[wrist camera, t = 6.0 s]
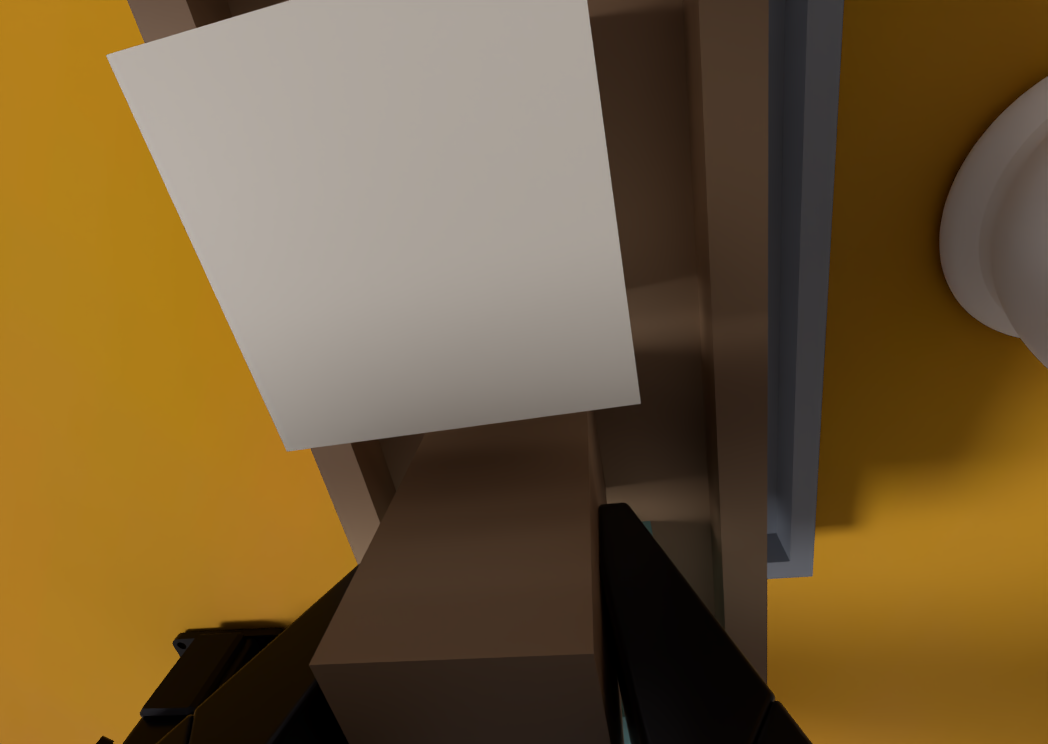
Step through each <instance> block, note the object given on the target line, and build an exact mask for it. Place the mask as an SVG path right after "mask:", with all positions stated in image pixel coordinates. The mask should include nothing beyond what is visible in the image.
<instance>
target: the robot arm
mask: <svg viewBox="0 0 1048 744" xmlns="http://www.w3.org/2000/svg"><path fill="white" fill-rule="evenodd" d="M598 518H599V568H600V576H601V582H602V588H603V594H604V600H605V606H606V612H607V618H608V624H609V630H610V636H611V642H612V648H613V654H614V660H615V666H616V672H617V678H618V683H619V689H620V694H621V699H622V704H623V709H624V714H625V718H626V723H627V728H628V733H629V738H630V743H631V744H812V742H811V741H810V740H809V739H808V737H807V736H806V735H805V734H804V732H803V731H802V730H801V728H800V727H799V726H798V724H797V723H796V722H795V721H794V719H793V718H792V717H791V715H790V714H789V713H788V711H787V710H786V709H785V707H784V706H783V705H782V704H781V703H780V702H779V701H775V696H774V694H773V692H772V691H771V690H770V689H769V687H768V686H767V685H766V683H765V682H764V681H763V679H762V678H761V677H760V675H759V674H758V673H757V672H756V670H755V669H754V668H753V666H752V665H751V664H750V662H749V661H748V660H747V659H746V657H745V656H744V655H743V653H742V652H741V651H740V649H739V648H738V647H737V645H736V644H735V643H734V642H733V640H732V639H731V638H730V636H729V635H728V634H727V632H726V631H725V630H724V629H723V627H722V626H721V625H720V623H719V622H718V621H717V619H716V618H715V617H714V615H713V614H712V613H711V612H710V610H709V609H708V608H707V606H706V605H705V604H704V602H703V601H702V600H701V599H700V597H699V596H698V595H697V593H696V592H695V591H694V589H693V588H692V587H691V585H690V584H689V583H688V582H687V580H686V579H685V578H684V576H683V575H682V574H681V572H680V571H679V570H678V569H677V567H676V566H675V565H674V563H673V562H672V561H671V559H670V558H669V557H668V555H667V554H666V553H665V552H664V550H663V549H662V548H661V546H660V545H659V544H658V542H657V541H656V540H655V539H654V537H653V536H652V535H651V533H650V532H649V531H648V529H647V528H646V527H645V525H644V524H643V523H642V522H641V520H640V519H639V518H638V516H637V515H636V514H635V512H634V511H633V510H632V509H631V507H630V506H629V505H628V504H627V503H623V502H621V503H610V504H601V505H600V506H599V508H598ZM358 566H359V564H358V565H357V566H356V567H355V568H354V569H353V570H352V571H351V572H349V573H348V574H347V575H346V576H345V577H344V578H343V579H342V580H340V581H339V582H338V583H337V584H336V585H335V586H334V587H333V588H331V589H330V590H329V591H328V592H327V593H326V594H325V595H324V596H322V597H321V598H320V599H319V600H318V601H317V602H316V603H314V604H313V605H312V606H311V607H310V608H309V609H308V610H307V611H305V612H304V613H303V614H302V615H301V616H300V617H299V618H298V619H296V620H295V621H294V622H293V623H292V624H291V625H290V626H289V627H287V628H286V629H285V630H282V629H280V628H266V629H246V630H226V631H206V632H186V633H180V634H179V635H178V636H177V637H176V638H175V640H174V641H173V646H174V647H175V649H176V651H177V652H178V654H179V655H180V659H179V660H178V661H177V663H176V664H175V665H174V666H173V668H172V669H171V670H170V672H169V673H168V674H167V676H166V677H165V678H164V680H163V681H162V682H161V684H160V685H159V686H158V688H157V689H156V690H155V692H154V693H153V694H152V696H151V697H150V698H149V700H148V701H147V702H146V704H145V705H144V706H143V708H142V710H141V712H140V715H141V717H142V718H141V719H140V721H139V722H138V724H137V725H136V726H135V728H134V729H133V730H132V732H131V733H130V734H129V736H128V737H127V738H126V740H125V741H124V742H123V744H349V743H348V741H347V739H346V737H345V735H344V733H343V731H342V729H341V727H340V725H339V723H338V721H337V719H336V717H335V715H334V713H333V711H332V710H331V708H330V706H329V704H328V702H327V700H326V698H325V696H324V694H323V692H322V690H321V688H320V686H319V684H318V682H317V680H316V678H315V676H314V674H313V672H312V670H311V668H310V666H309V664H310V662H311V660H312V658H313V656H314V654H315V652H316V650H317V648H318V646H319V644H320V642H321V640H322V638H323V636H324V634H325V632H326V630H327V628H328V626H329V624H330V622H331V620H332V618H333V616H334V614H335V612H336V610H337V608H338V606H339V604H340V602H341V600H342V598H343V596H344V594H345V592H346V590H347V588H348V586H349V584H350V582H351V580H352V578H353V576H354V574H355V572H356V570H357V568H358ZM113 742H114V741H113V740H111V739H109V738H107V737H105V736H102V737H101V738H100V740H99V741H98V742H97V743H96V744H113Z"/></svg>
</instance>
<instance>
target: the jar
mask: <svg viewBox="0 0 1048 744" xmlns="http://www.w3.org/2000/svg"><path fill="white" fill-rule="evenodd" d="M939 251H940V260H941V265H942V269H943V273H944V276H945V279H946V282H947V284H948V286H949V288H950V290H951V292H952V293H953V295H954V297H955V298H956V300H957V301H958V302H959V303H960V305H961V306H962V307H963V308H964V309H965V310H966V311H967V312H968V313H969V314H970V315H971V316H973V317H974V318H975V319H977V320H978V321H980V322H981V323H983V324H984V325H986V326H988V327H990V328H992V329H994V330H996V331H999V332H1001V333H1004V334H1007V335H1010V336H1014V337H1018V338H1021V340H1022V341H1023V342H1024V344H1025V345H1026V346H1027V347H1028V349H1029V350H1030V351H1031V352H1032V353H1033V354H1034V355H1035V357H1036V358H1037V359H1038V360H1039V361H1040V362H1041V363H1042V364H1043V365H1044V366H1045V367H1046V368H1047V369H1048V76H1047V77H1046V78H1044V79H1043V80H1041V81H1040V82H1038V83H1037V84H1035V85H1034V86H1033V87H1031V88H1030V89H1029V90H1027V91H1026V92H1025V93H1024V94H1022V95H1021V96H1020V97H1019V98H1018V99H1016V100H1015V101H1014V102H1013V103H1012V104H1011V105H1010V106H1009V107H1008V108H1007V109H1006V110H1004V111H1003V112H1002V113H1001V114H1000V115H999V116H998V117H997V118H996V120H995V121H994V122H993V123H992V124H991V125H990V126H989V127H988V129H987V130H986V131H985V132H984V134H983V135H982V136H981V137H980V139H979V140H978V141H977V142H976V144H975V145H974V147H973V148H972V149H971V151H970V152H969V154H968V156H967V157H966V159H965V161H964V162H963V164H962V166H961V168H960V169H959V171H958V173H957V175H956V177H955V179H954V181H953V184H952V186H951V189H950V191H949V194H948V197H947V199H946V202H945V206H944V210H943V214H942V219H941V225H940V233H939Z"/></svg>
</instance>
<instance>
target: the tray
mask: <svg viewBox="0 0 1048 744" xmlns="http://www.w3.org/2000/svg"><path fill="white" fill-rule="evenodd" d="M843 9H844V0H769V29H768V431H767V579H773V578H791V577H808V576H812V574H813V556H814V538H815V519H816V501H817V483H818V465H819V447H820V428H821V410H822V392H823V374H824V355H825V337H826V319H827V301H828V283H829V264H830V246H831V228H832V210H833V192H834V173H835V155H836V137H837V119H838V101H839V82H840V64H841V46H842V28H843Z"/></svg>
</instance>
